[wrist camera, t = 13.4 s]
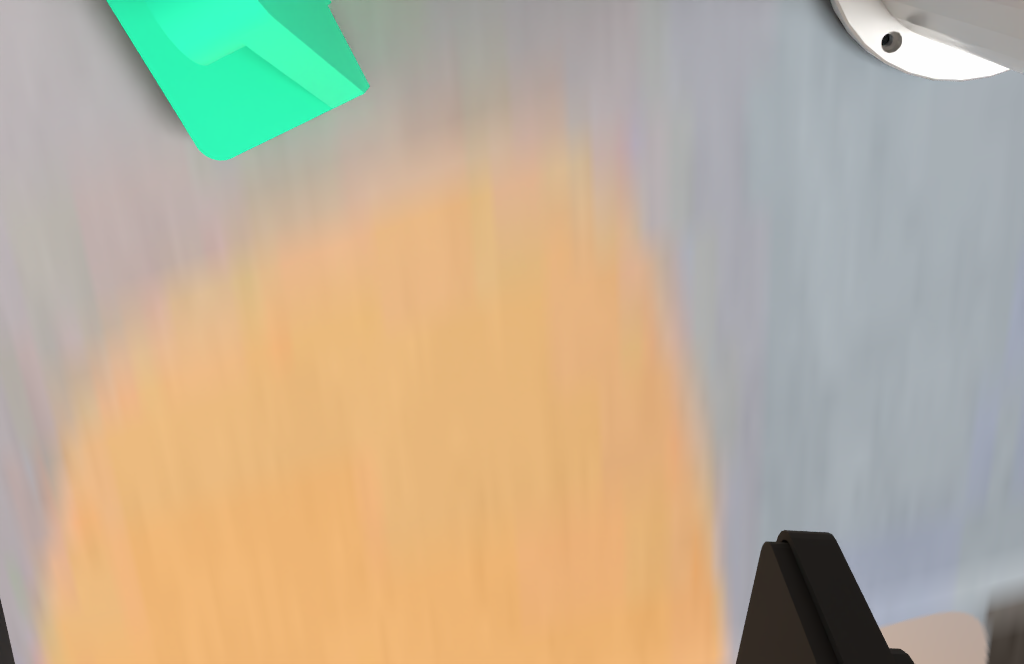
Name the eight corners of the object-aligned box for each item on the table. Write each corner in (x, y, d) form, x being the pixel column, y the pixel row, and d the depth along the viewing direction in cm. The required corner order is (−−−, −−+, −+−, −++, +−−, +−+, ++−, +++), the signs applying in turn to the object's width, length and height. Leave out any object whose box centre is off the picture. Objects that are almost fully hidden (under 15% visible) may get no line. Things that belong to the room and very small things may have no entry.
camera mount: (68, -109, 38) (-77, -108, 29) (226, -200, 37) (127, -230, 27) (227, 152, 43) (146, 226, 33) (373, 81, 41) (330, 137, 32)
